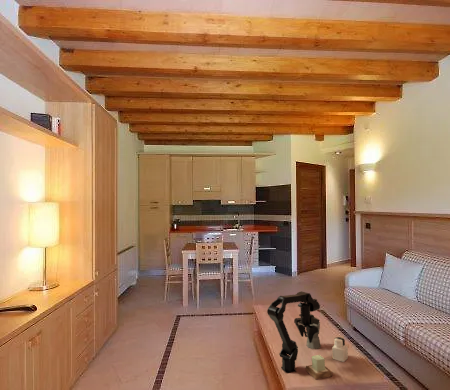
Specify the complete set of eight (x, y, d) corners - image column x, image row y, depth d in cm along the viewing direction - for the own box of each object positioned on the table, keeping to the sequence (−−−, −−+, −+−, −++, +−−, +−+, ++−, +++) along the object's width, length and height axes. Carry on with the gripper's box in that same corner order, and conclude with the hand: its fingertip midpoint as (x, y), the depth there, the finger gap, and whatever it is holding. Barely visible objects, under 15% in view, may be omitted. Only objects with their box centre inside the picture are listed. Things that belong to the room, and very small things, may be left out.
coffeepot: (315, 341, 217) (314, 315, 218) (326, 346, 209) (324, 319, 210) (298, 346, 210) (297, 319, 210) (308, 352, 201) (307, 323, 202)
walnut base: (315, 379, 169) (315, 374, 169) (306, 370, 179) (305, 365, 179) (331, 376, 172) (331, 371, 172) (321, 367, 181) (321, 363, 182)
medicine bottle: (336, 354, 197) (335, 335, 198) (348, 357, 192) (347, 337, 193) (332, 359, 191) (331, 339, 192) (344, 362, 187) (343, 341, 187)
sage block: (317, 371, 172) (316, 360, 173) (312, 367, 177) (311, 356, 177) (325, 369, 174) (324, 358, 174) (319, 365, 179) (319, 354, 179)
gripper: (326, 316, 184) (327, 343, 183) (309, 307, 202) (309, 332, 201) (309, 318, 181) (310, 346, 180) (293, 309, 198) (294, 334, 198)
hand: (306, 339), depth 190 cm, fingers open, 9 cm apart
